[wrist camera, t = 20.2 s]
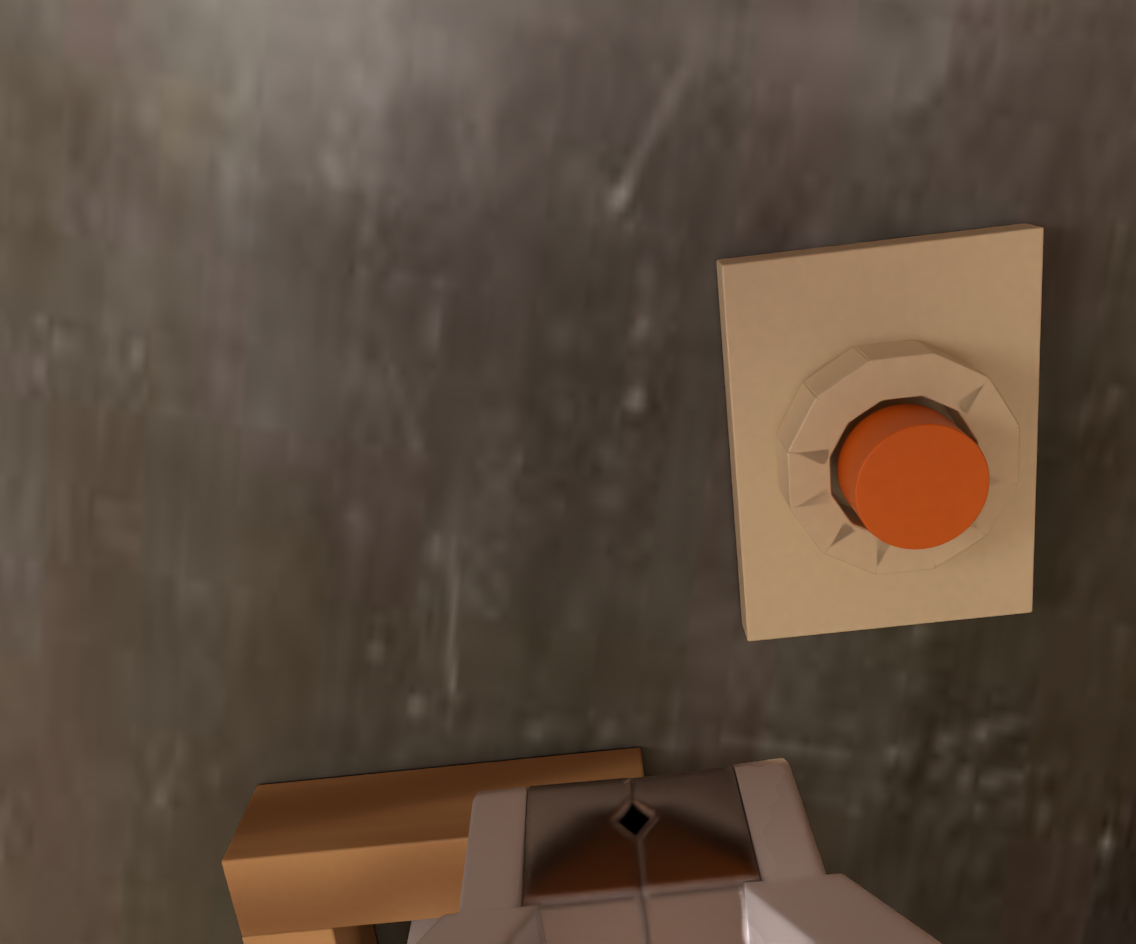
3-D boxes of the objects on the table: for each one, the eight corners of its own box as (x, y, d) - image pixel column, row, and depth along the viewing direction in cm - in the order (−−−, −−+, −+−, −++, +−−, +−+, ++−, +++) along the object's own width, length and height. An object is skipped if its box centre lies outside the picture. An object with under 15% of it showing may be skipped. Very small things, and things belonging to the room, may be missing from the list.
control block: (716, 259, 31) (730, 274, 28) (1026, 222, 30) (1073, 234, 27) (742, 624, 35) (756, 670, 32) (1017, 596, 34) (1058, 640, 31)
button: (834, 410, 29) (853, 431, 28) (963, 396, 29) (991, 416, 27) (838, 528, 31) (857, 557, 29) (963, 515, 30) (989, 543, 29)
